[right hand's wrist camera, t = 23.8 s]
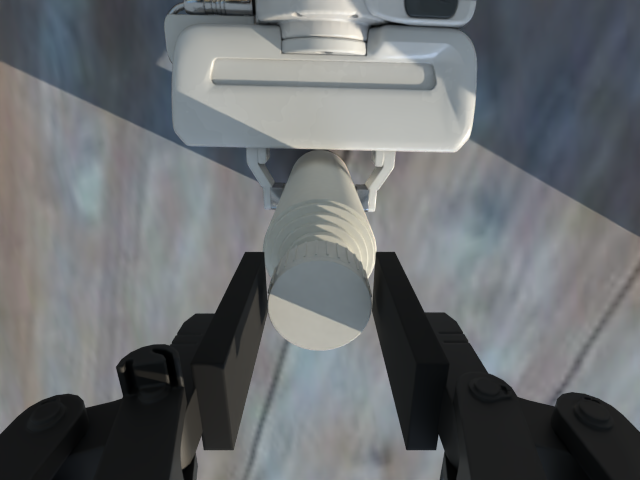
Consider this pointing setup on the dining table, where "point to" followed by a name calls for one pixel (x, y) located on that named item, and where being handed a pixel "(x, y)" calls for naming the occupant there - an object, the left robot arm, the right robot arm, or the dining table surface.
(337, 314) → the cap
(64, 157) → the dining table surface
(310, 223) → the bottle
